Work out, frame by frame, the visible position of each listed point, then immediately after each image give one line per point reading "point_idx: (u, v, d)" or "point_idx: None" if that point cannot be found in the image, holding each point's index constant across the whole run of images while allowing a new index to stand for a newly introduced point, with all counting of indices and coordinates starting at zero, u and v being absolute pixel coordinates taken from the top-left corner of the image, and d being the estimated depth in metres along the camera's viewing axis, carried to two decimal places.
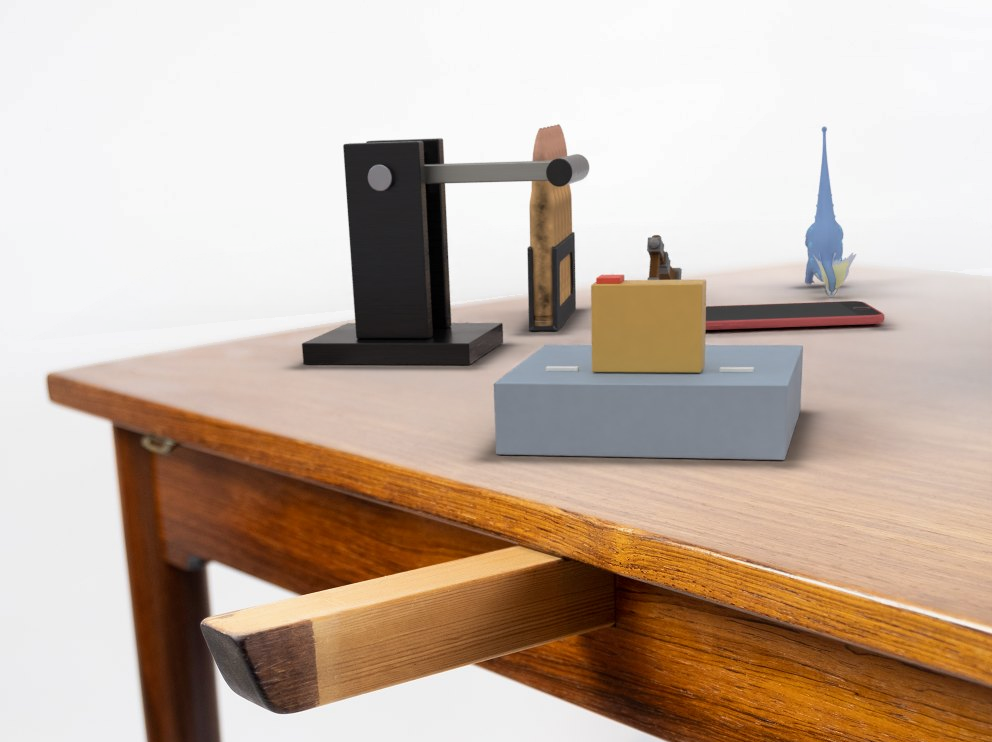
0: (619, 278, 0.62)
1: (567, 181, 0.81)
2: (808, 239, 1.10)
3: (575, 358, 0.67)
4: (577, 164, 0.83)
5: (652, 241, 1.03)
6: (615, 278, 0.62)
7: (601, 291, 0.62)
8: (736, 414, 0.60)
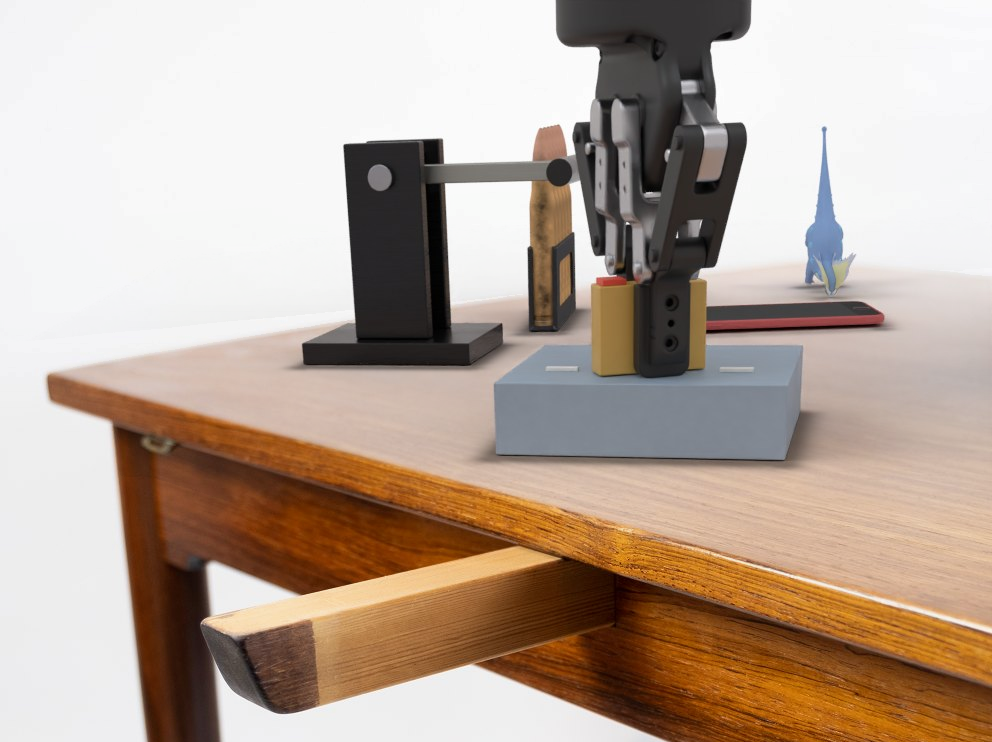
0: (625, 279, 0.62)
1: (567, 181, 0.81)
2: (808, 239, 1.10)
3: (575, 358, 0.67)
4: None
5: None
6: (621, 279, 0.62)
7: (610, 293, 0.61)
8: (736, 414, 0.60)
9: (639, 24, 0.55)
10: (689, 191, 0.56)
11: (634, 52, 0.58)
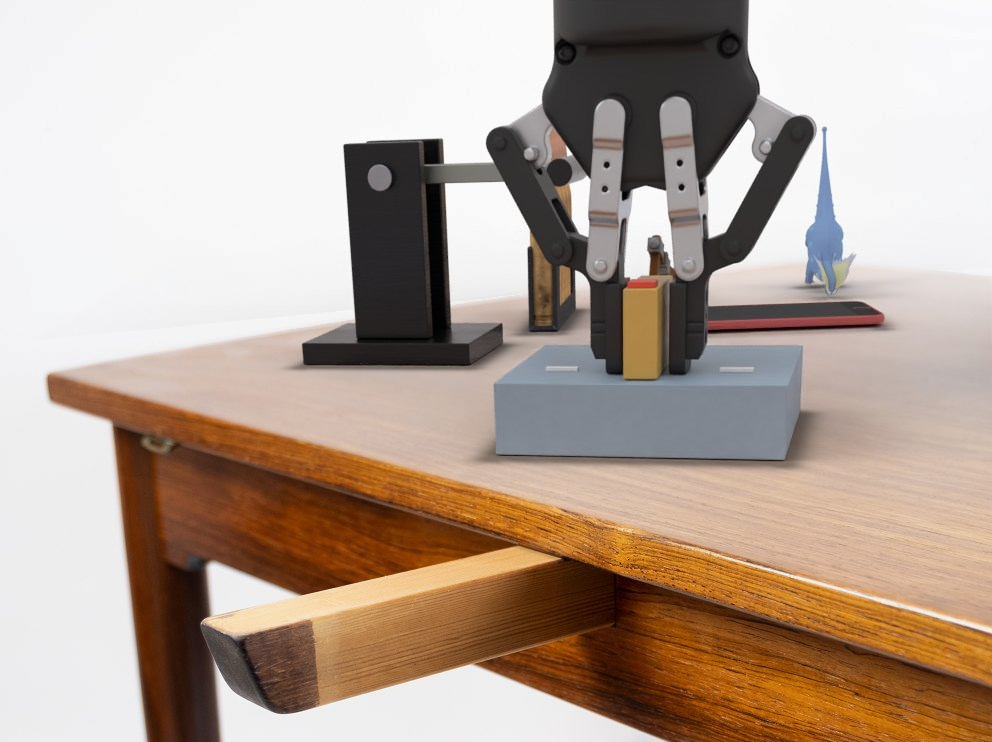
0: (657, 279, 0.61)
1: (567, 181, 0.81)
2: (808, 239, 1.10)
3: (575, 358, 0.67)
4: (577, 164, 0.83)
5: (652, 241, 1.03)
6: (656, 280, 0.61)
7: (659, 294, 0.61)
8: (736, 414, 0.60)
9: (728, 21, 0.56)
10: (790, 179, 0.59)
11: (677, 50, 0.58)
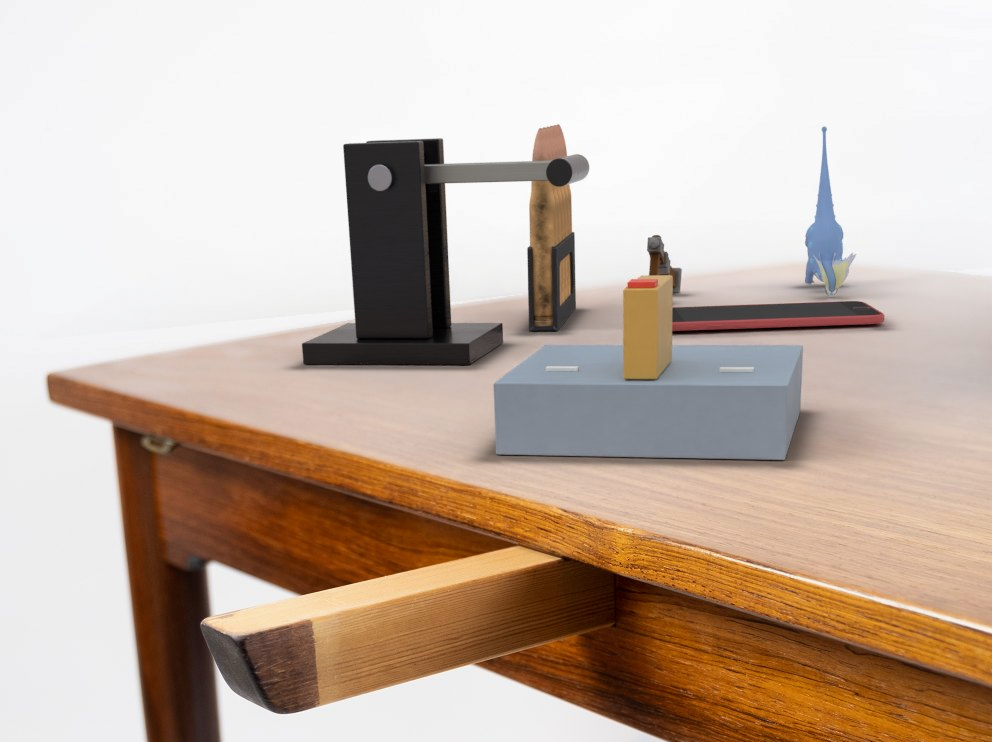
0: (657, 279, 0.61)
1: (567, 181, 0.81)
2: (808, 239, 1.10)
3: (575, 358, 0.67)
4: (577, 164, 0.83)
5: (652, 241, 1.03)
6: (656, 280, 0.61)
7: (659, 294, 0.61)
8: (736, 414, 0.60)
9: None
10: None
11: None
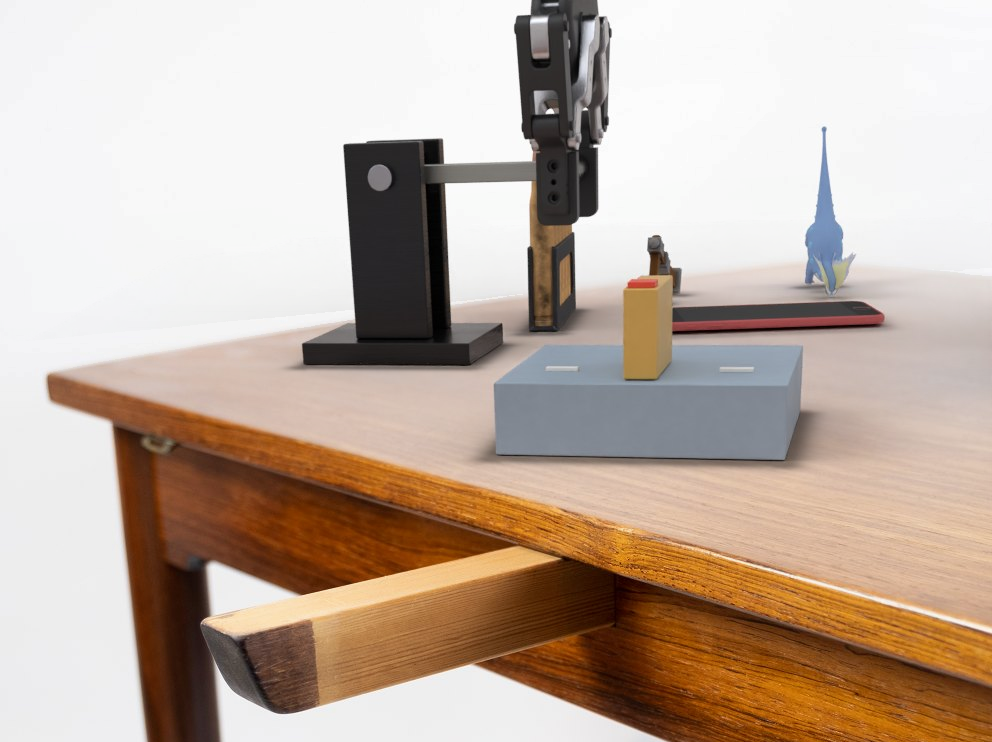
0: (657, 279, 0.61)
1: None
2: (808, 239, 1.10)
3: (575, 358, 0.67)
4: None
5: (652, 241, 1.03)
6: (656, 280, 0.61)
7: (659, 294, 0.61)
8: (736, 414, 0.60)
9: None
10: (528, 65, 0.76)
11: None
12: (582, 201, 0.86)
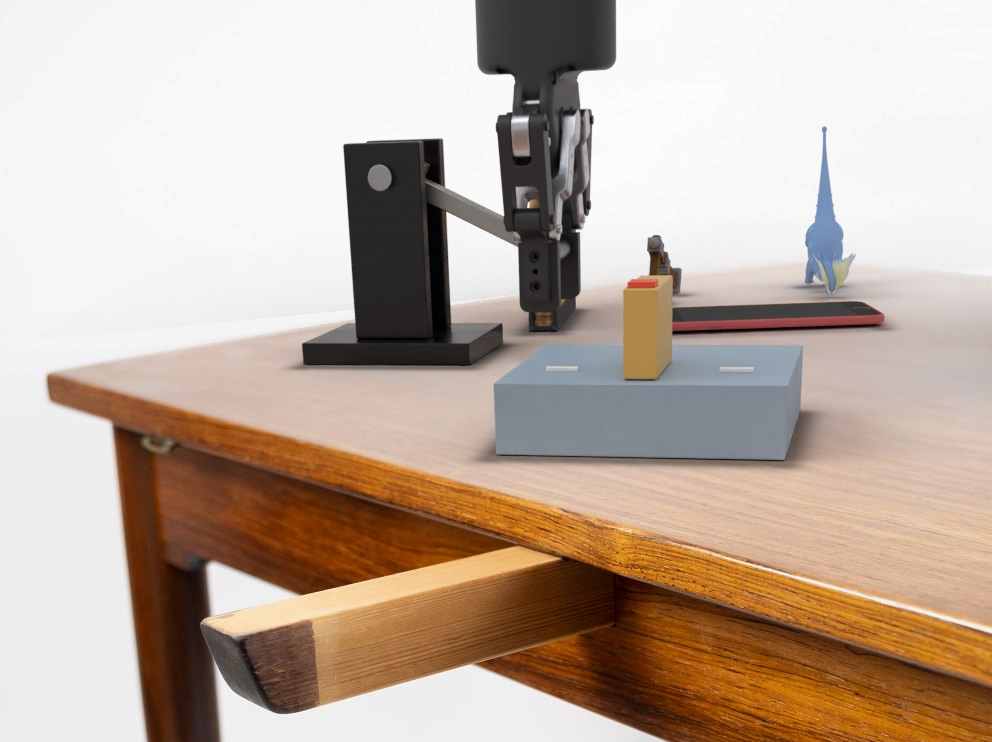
0: (657, 279, 0.61)
1: None
2: (808, 239, 1.10)
3: (575, 358, 0.67)
4: (562, 253, 0.85)
5: (652, 241, 1.03)
6: (656, 280, 0.61)
7: (659, 294, 0.61)
8: (736, 414, 0.60)
9: (501, 61, 0.79)
10: (510, 162, 0.78)
11: None
12: (564, 284, 0.88)
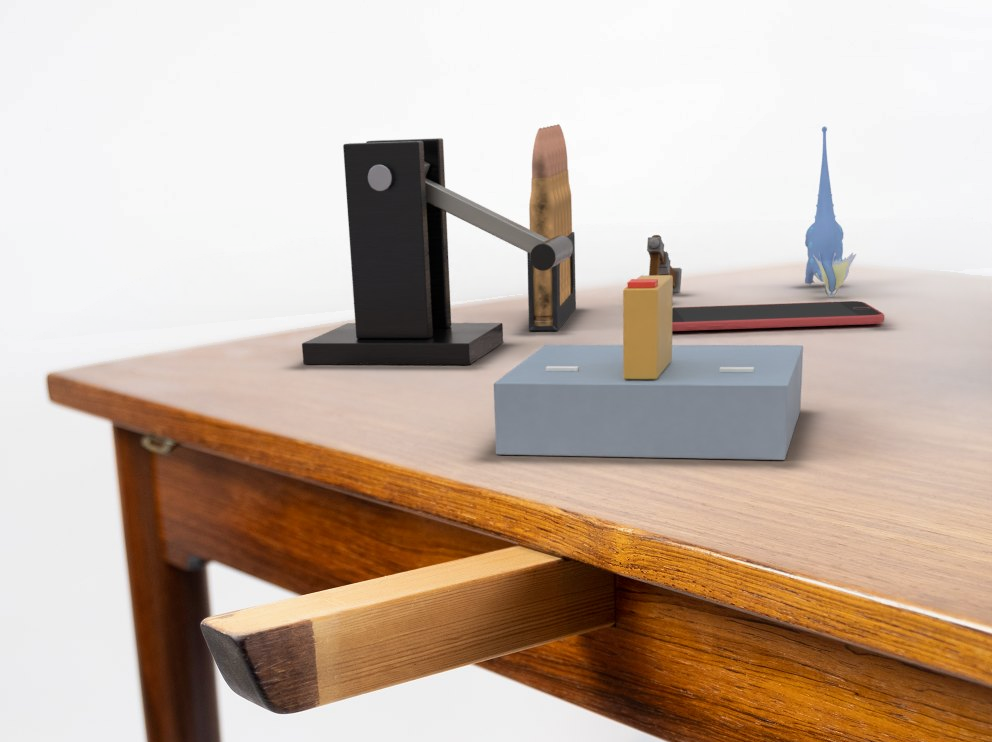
0: (657, 279, 0.61)
1: (546, 268, 0.83)
2: (808, 239, 1.10)
3: (575, 358, 0.67)
4: (562, 253, 0.85)
5: (652, 241, 1.03)
6: (656, 280, 0.61)
7: (659, 294, 0.61)
8: (736, 414, 0.60)
9: None
10: None
11: None
12: None
